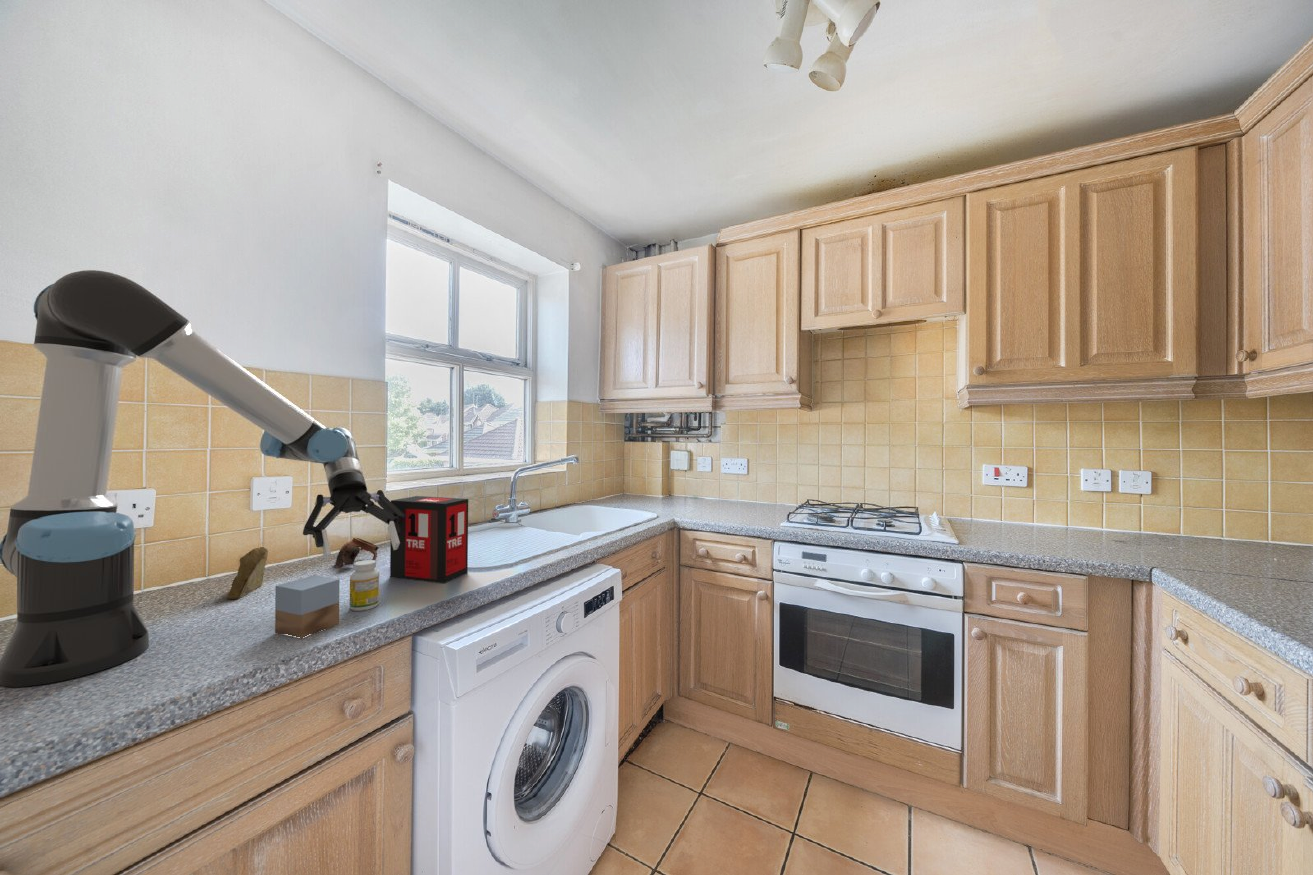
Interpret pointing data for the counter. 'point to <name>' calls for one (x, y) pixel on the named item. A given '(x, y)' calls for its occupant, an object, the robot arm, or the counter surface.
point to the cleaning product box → (431, 539)
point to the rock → (249, 573)
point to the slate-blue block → (306, 594)
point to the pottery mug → (354, 551)
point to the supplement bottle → (364, 586)
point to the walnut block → (306, 621)
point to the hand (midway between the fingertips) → (364, 552)
